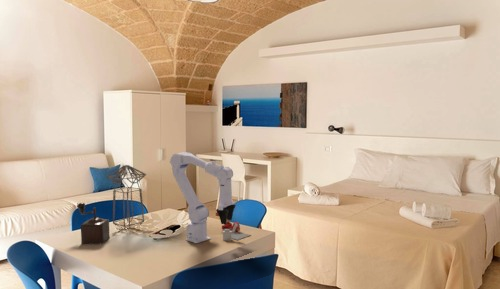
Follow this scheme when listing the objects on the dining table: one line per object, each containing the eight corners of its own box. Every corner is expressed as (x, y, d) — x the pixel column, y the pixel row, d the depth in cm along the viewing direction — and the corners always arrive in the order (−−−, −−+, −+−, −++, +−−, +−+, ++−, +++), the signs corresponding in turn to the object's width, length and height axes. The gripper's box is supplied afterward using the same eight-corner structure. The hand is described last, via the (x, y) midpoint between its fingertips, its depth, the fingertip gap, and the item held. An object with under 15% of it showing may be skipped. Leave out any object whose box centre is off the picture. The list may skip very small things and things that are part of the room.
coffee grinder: (111, 237, 202) (109, 201, 200) (102, 244, 191) (101, 206, 189) (80, 237, 202) (79, 201, 201) (70, 244, 191) (68, 206, 190)
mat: (237, 240, 195) (237, 239, 195) (222, 236, 202) (222, 235, 202) (250, 235, 202) (250, 235, 202) (236, 231, 209) (236, 231, 209)
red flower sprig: (237, 232, 207) (236, 213, 206) (216, 229, 214) (215, 211, 213) (241, 230, 209) (240, 212, 209) (219, 228, 217) (219, 210, 216)
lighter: (223, 240, 195) (222, 224, 195) (223, 239, 197) (223, 223, 196) (237, 240, 195) (237, 224, 194) (237, 239, 196) (237, 223, 196)
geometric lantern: (150, 229, 215) (148, 164, 212) (126, 236, 202) (124, 167, 199) (130, 224, 224) (128, 162, 221) (106, 231, 210) (104, 165, 208)
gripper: (228, 196, 181) (229, 226, 182) (238, 190, 194) (239, 218, 195) (213, 196, 183) (214, 225, 184) (225, 190, 197) (226, 217, 197)
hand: (226, 221), depth 190 cm, fingers open, 7 cm apart
